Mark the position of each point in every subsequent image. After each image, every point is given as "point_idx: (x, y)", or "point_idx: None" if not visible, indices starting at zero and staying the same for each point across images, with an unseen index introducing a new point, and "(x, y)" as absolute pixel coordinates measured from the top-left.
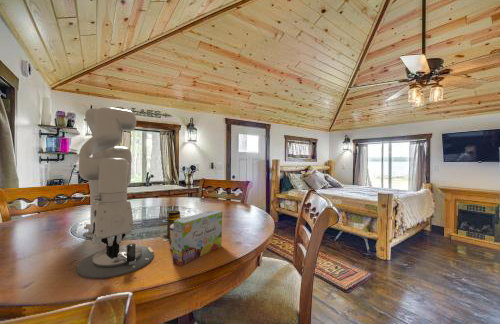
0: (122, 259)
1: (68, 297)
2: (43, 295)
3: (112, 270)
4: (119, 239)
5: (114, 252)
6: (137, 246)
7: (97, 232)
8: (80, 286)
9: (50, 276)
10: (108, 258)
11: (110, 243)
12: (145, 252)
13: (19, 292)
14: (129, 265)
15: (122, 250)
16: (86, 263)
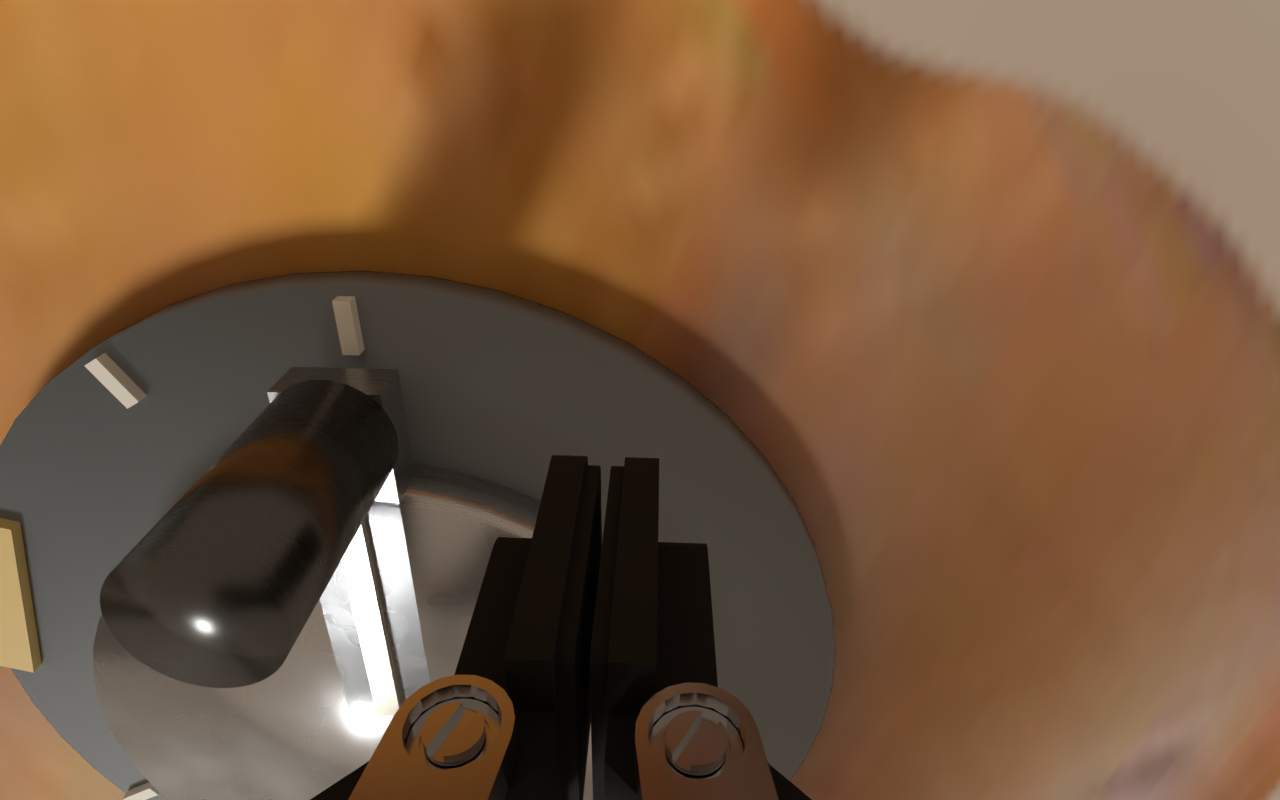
0: (425, 541)
1: (1159, 287)
2: (1217, 525)
3: (596, 447)
4: (417, 796)
5: (608, 532)
6: (135, 736)
7: None
8: (955, 422)
9: (975, 786)
10: None
11: (702, 756)
12: (89, 585)
13: (1247, 711)
14: None
15: (335, 759)
16: None
